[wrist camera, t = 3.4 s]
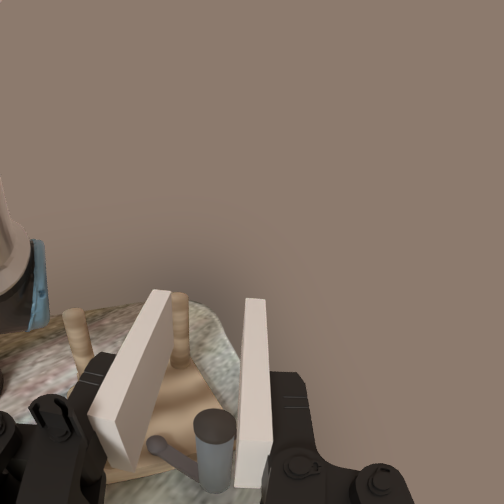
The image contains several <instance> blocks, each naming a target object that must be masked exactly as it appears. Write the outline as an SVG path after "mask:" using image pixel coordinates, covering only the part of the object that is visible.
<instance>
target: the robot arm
mask: <svg viewBox="0 0 504 504" xmlns="http://www.w3.org/2000/svg"><path fill="white" fill-rule="evenodd" d="M2 1H3V0H0V3H1V2H2ZM49 320H50V311H49V300H48V289H47V276H46V263H45V246H44V243H43V241H41V240H36V239H31V240H30V241H29V238H28V235H27V233H26V231H25V229H24V228H23V227H22V226H21V225H20V224H19V223H18V222H16V221H14V220H12V219H11V218H10V214H9V210H8V206H7V202H6V199H5V194H4V190H3V185H2V180H1V176H0V334H6V333H13V332H21V331H25V332H29V331H31V330H34V329H38V328H43V327H45V326H46V325H47V324H48V322H49ZM173 347H174V336H173V319H172V296H171V291H165V290H156V289H153V290H152V292H151V294H150V295H149V297H148V299H147V301H146V302H145V304H144V306H143V308H142V310H141V311H140V313H139V315H138V317H137V318H136V320H135V322H134V324H133V326H132V328H131V329H130V331H129V333H128V335H127V337H126V339H125V340H124V342H123V344H122V346H121V348H120V350H119V352H118V354H117V355H116V354H110V353H105V352H100V353H99V354H98V355H96V356H95V357H94V358H92V359H91V360H90V361H89V363H88V365H87V366H86V368H85V370H84V373H82V375H81V376H80V378H79V382H77V383H76V385H75V387H74V389H73V390H72V392H71V394H70V396H69V397H68V399H66V398H65V397H63V396H60V395H57V394H47V395H43V396H40V397H38V398H37V399H35V400H34V401H33V402H32V403H31V404H30V406H29V407H28V409H29V410H30V412H31V414H32V416H33V418H34V419H35V421H36V423H37V425H32V424H18V423H15V421H14V419H13V418H12V417H11V416H10V415H9V414H8V413H6V412H3V411H0V504H104V495H105V488H106V473H105V472H104V467H105V464H106V461H107V460H108V462H109V463H110V465H111V467H112V468H116V469H120V470H124V471H128V472H132V473H135V471H136V467H137V464H138V460H139V457H140V453H141V450H142V446H143V443H144V439H145V436H146V433H147V429H148V426H149V423H150V419H151V416H152V413H153V409H154V406H155V403H156V400H157V397H158V393H159V390H160V387H161V384H162V381H163V378H164V374H165V371H166V368H167V365H168V362H169V359H170V356H171V353H172V350H173ZM2 387H3V375H2V372H1V370H0V393H1V390H2ZM261 485H262V498H261V501H260V504H414V501H413V499H412V497H411V494H410V492H409V490H408V487H407V485H406V483H405V480H404V478H403V476H402V475H401V474H400V472H399V471H398V470H397V469H395V468H394V467H392V466H390V465H387V464H383V463H378V464H372V465H369V466H366V467H365V468H364V469H362V470H361V471H357V470H352V469H346V468H341V467H337V466H334V465H332V464H330V463H328V462H327V461H325V460H324V459H323V458H322V457H321V456H320V454H319V453H318V451H317V449H316V445H315V439H314V434H313V428H312V421H311V415H310V409H309V403H308V399H307V391H306V386H305V383H304V382H303V380H302V379H301V377H300V376H299V375H298V374H297V372H272V371H269V354H268V337H267V319H266V303H265V299H254V298H246V302H245V313H244V325H243V335H242V348H241V362H240V381H239V400H238V419H237V438H236V458H235V478H234V487H237V488H261Z"/></svg>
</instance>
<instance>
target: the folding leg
mask: <svg viewBox="0 0 504 504" xmlns="http://www.w3.org/2000/svg"><path fill="white" fill-rule="evenodd" d="M193 428H194V433H195V439H196V451H197V462H195V461H194V460H192V459H190V458H189V457H187V456H186V455H184V454H182V453H181V452H179V451H178V450H176V449H175V448H173V447H172V446H170V445H169V444H167V442H166V440H165V438H163V437H162V436H159V435H153V436H151V437H149V438H148V439H147V441H146V446H147V449H148V451H149V452H150V453H151V454H152V455H155V456H159V457H160V458H161V459H163V460H164V461H166V462H167V463H169V464H170V465H172V466H173V467H175V468H176V469H178V470H179V471H181V472H182V473H184V474H185V475H187V476H188V477H190V478H191V479H193V480H195V481H196V482H198V483H200V486H201V487H202V488H203V489H204V490H205V491H207V492H209V493H213V494H218V493H222V492H224V491H226V490H227V489H228V487H229V486H230V479H231V468H232V456H233V445H234V435H235V433H236V420H235V418H234V417H233V416H232V415H231V414H230V413H229V412H227V411H225V410H222V409H217V408H211V409H206V410H203V411H201V412H199V413H198V414H197V415H196V416H195V418H194V421H193Z"/></svg>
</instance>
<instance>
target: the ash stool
mask: <svg viewBox="0 0 504 504" xmlns="http://www.w3.org/2000/svg"><path fill="white" fill-rule="evenodd" d="M171 296H172V319H173V336H174V347H173V350H172V353H171V356H170V359H169V362H168V365H167V368H166V371H165V374H164V378H163V381H162V384H161V387H160V390H159V393H158V397H157V400H156V403H155V406H154V409H153V413H152V416H151V419H150V423H149V426H148V429H147V433H146V436H145V439H144V443H143V446H142V450H141V453H140V457H139V460H138V464H137V467H136V471H135V473H132V472H128V471H124V470H120V469H116V468H112V467H111V465H110V463H109V462H108V460H107V461H106V464H105V467H104V472H105V473H106V484H111V483H116V482H122V481H127V480H132V479H136V478H141V477H145V476H150V475H154V474H158V473H162V472H166V471H170V470H173V469H176V468H175V467H173V466H172V465H170V464H169V463H167V462H166V461H164V460H163V459H161V458H160V457H159V456H155V455H152V454H151V453H150V452H149V451H148V449H147V446H146V441H147V439H148V438H149V437H151V436H153V435H159V436H162V437H163V438H165V440H166V442H167V444H169V445H170V446H172V447H173V448H175V449H176V450H178V451H179V452H181V453H182V454H184V455H186V456H187V457H189V458H190V459H192V460H194V461H195V462H197V451H196V439H195V433H194V428H193V421H194V418H195V416H196V415H197V414H198V413H199V412H201V411H203V410H206V409H211V408H217V409H222V410H223V408H222V407H221V405H220V404H219V402H218V400H217V399H216V397H215V396H214V394H213V393H212V391H211V389H210V388H209V386H208V385H207V383H206V381H205V380H204V378H203V377H202V375H201V373H200V372H199V370H198V368H197V367H196V365H195V363H194V362H193V360H192V358H191V357H190V348H189V305H188V296H187V295H186V294H185V293H181V292H173V293H171ZM62 317H63V321H64V325H65V329H66V333H67V337H68V340H69V344H70V348H71V351H72V354H73V358H74V361H75V364H76V367H77V371H78V373H77V377H78V382H79V378H80V376H81V375H82V373H84V370H85V368H86V366H87V365H88V363H89V361H90V360H91V359H92V358H94V353H93V349H92V345H91V341H90V337H89V332H88V328H87V323H86V318H85V313H84V311H83V310H82V309H81V308H70V309H67V310H66V311H64V312H63V314H62ZM74 387H75V386H73V387H71V388H70V389H69V391H68V393H67V399H68V397H69V396H70V394H71V392H72V390H73V389H74ZM236 438H237V429H236V433H235V435H234V445H233V450H236Z"/></svg>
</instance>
